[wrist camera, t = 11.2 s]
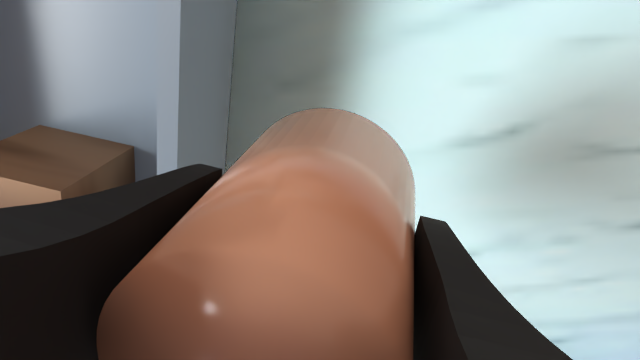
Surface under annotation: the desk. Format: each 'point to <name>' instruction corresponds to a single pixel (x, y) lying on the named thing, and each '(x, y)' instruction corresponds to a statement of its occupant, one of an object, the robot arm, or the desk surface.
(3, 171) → the walnut cube
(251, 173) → the terracotta cylinder
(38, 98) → the tote
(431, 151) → the desk surface
